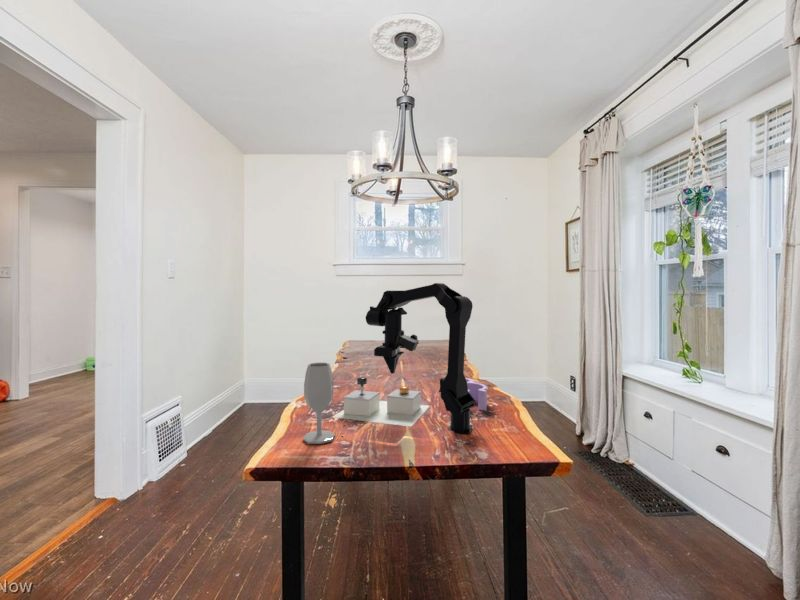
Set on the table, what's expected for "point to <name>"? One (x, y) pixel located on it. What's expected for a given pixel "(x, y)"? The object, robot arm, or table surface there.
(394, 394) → the white square box
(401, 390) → the plunger
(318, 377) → the wineglass
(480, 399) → the clip
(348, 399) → the white square block
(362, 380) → the plunger
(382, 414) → the board
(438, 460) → the table surface
